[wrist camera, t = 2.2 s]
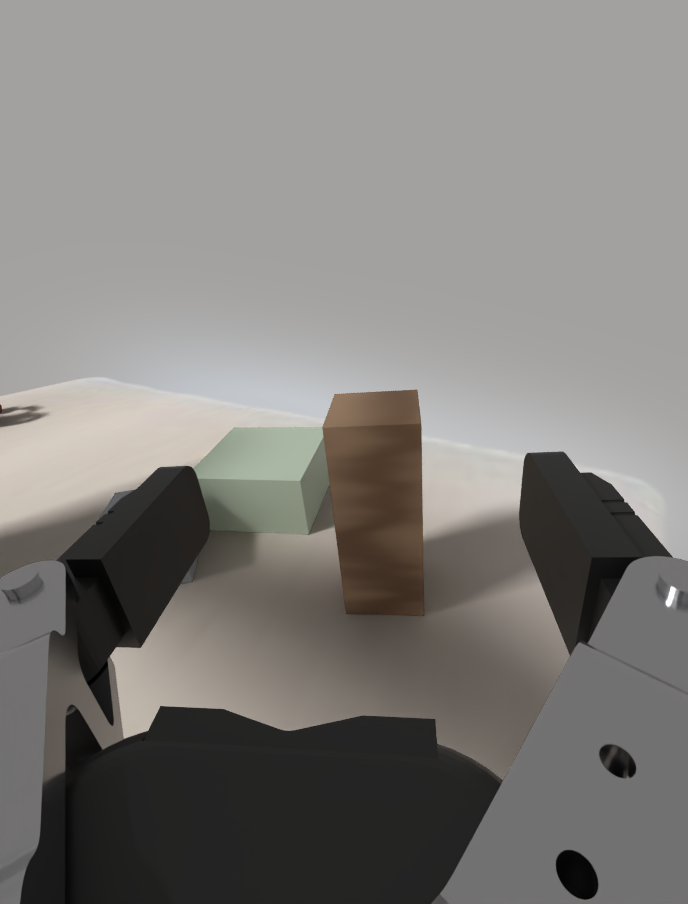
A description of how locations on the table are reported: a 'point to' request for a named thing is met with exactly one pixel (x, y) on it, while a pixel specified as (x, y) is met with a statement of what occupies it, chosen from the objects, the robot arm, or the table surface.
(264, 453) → the sage block
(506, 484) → the table surface
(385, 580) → the walnut post
